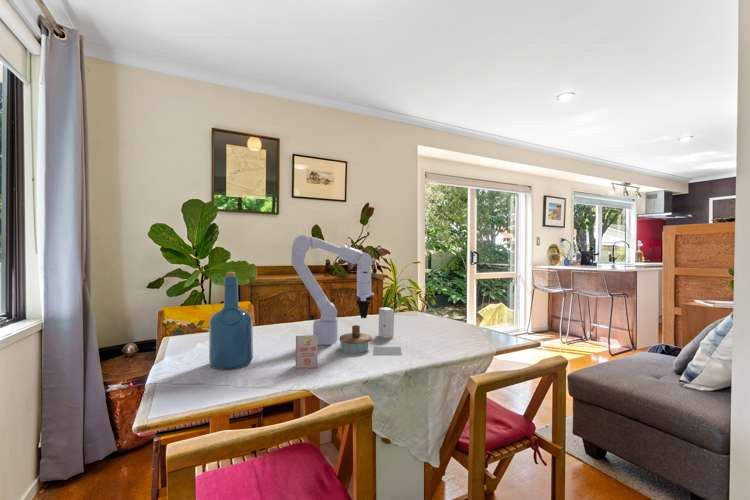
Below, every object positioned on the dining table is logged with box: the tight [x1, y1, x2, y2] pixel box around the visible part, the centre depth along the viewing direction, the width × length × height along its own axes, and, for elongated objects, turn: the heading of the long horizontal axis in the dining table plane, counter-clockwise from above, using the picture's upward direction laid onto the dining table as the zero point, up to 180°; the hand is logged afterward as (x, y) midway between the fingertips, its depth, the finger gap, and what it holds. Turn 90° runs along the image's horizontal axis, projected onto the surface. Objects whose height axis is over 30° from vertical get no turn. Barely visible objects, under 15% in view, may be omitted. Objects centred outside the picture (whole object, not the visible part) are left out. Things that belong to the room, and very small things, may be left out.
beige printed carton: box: [295, 334, 319, 370], centre depth 118 cm, size 4×7×10 cm, turn 100°
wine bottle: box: [208, 271, 254, 370], centre depth 120 cm, size 14×13×30 cm
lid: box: [339, 324, 373, 344], centre depth 135 cm, size 12×12×5 cm
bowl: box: [340, 341, 369, 354], centre depth 136 cm, size 10×10×4 cm
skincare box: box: [378, 306, 395, 339], centre depth 153 cm, size 6×4×12 cm
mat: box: [372, 346, 403, 356], centre depth 132 cm, size 10×10×1 cm
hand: (364, 316), depth 148 cm, fingers open, 7 cm apart
